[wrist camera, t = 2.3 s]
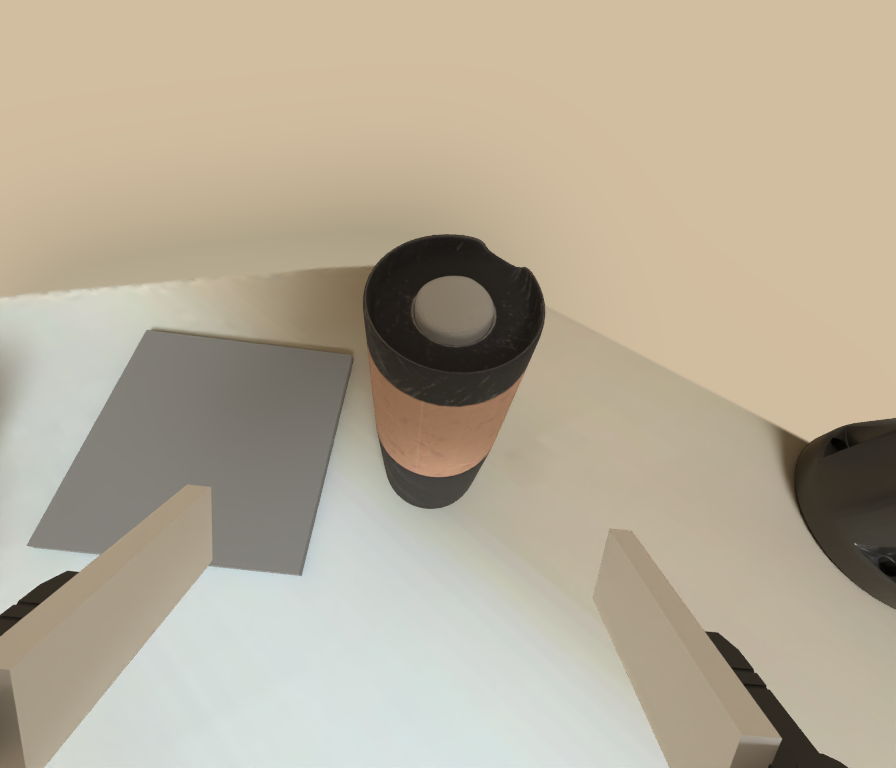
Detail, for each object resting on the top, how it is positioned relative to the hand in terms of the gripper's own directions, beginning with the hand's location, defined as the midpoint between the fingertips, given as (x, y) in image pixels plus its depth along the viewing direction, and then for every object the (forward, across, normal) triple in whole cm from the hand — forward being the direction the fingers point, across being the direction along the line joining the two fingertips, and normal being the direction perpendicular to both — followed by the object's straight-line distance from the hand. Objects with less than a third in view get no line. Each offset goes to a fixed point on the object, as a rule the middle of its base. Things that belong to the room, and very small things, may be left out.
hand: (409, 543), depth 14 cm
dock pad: (+20, -16, -6) cm, 26 cm away
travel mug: (+20, +1, -6) cm, 21 cm away
